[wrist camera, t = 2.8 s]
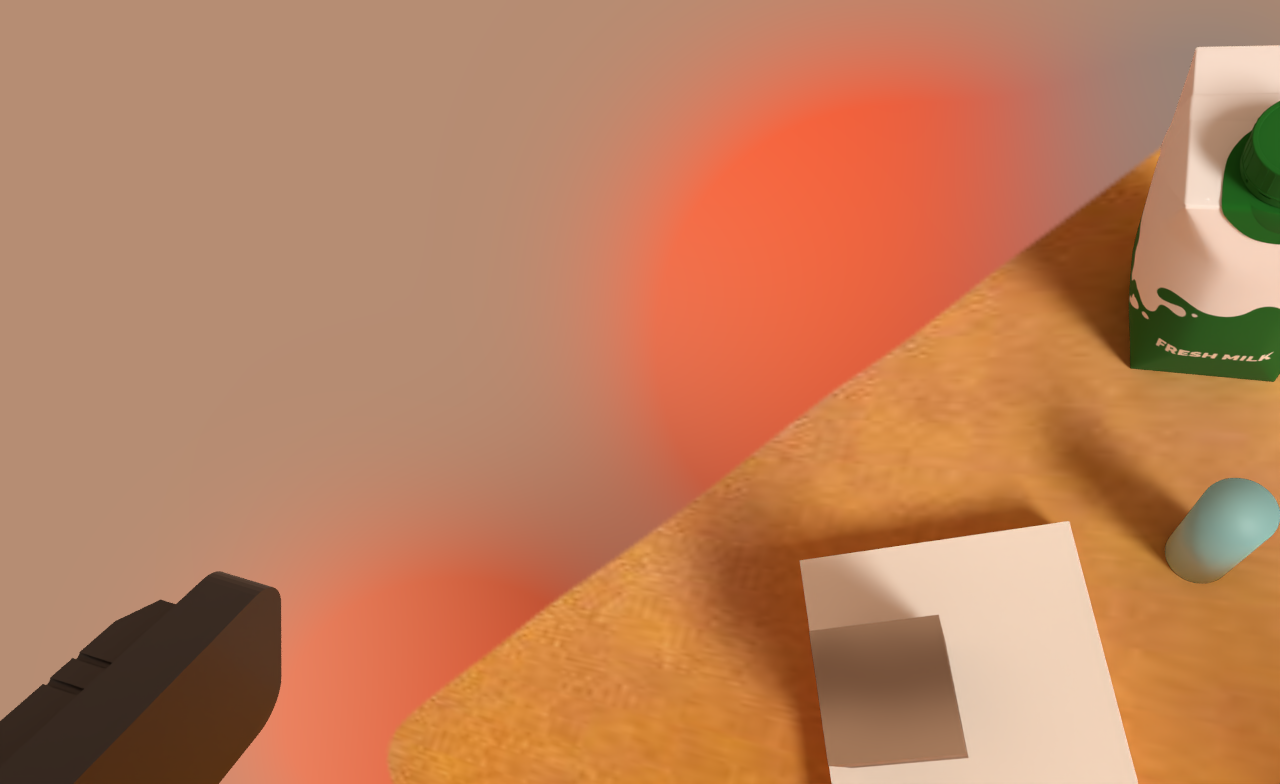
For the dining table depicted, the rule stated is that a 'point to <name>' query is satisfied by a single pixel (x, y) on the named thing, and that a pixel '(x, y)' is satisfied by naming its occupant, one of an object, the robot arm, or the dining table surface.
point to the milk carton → (1214, 226)
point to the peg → (1222, 530)
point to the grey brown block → (887, 693)
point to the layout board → (992, 652)
